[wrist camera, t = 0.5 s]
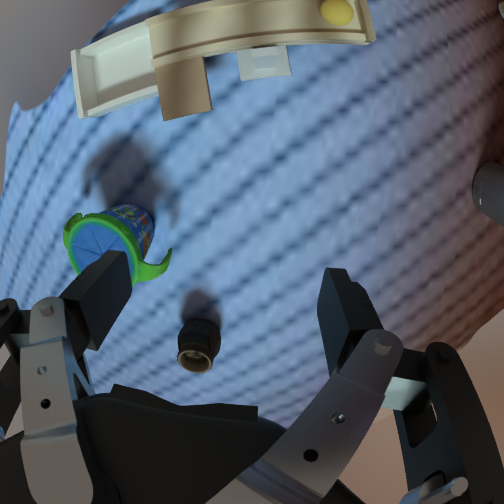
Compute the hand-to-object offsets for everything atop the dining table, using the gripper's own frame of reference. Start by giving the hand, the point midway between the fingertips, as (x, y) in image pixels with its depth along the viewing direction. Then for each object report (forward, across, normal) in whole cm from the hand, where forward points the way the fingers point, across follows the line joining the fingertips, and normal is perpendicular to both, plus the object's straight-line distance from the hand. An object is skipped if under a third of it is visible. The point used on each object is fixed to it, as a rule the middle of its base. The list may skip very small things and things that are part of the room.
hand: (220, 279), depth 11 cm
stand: (+26, 0, -17) cm, 31 cm away
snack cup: (+26, +17, +9) cm, 33 cm away
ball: (+19, -7, -18) cm, 27 cm away
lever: (+20, -1, -14) cm, 24 cm away
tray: (+26, +17, -13) cm, 34 cm away
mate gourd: (+26, +7, +28) cm, 39 cm away
